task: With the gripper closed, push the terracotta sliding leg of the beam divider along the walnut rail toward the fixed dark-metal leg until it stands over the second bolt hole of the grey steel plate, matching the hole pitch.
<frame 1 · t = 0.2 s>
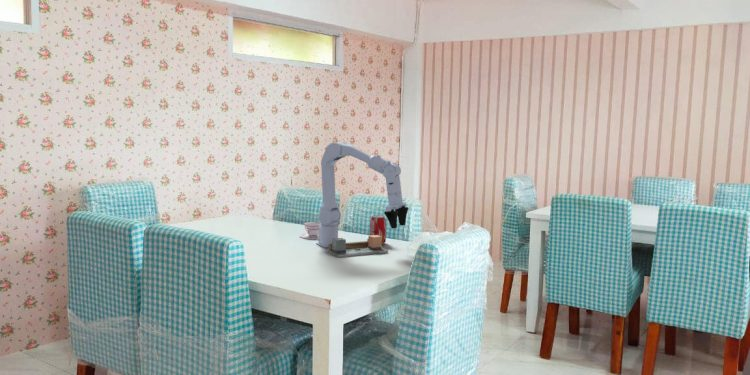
hand: (398, 226, 258), 10 cm above the table, tool pointing down, fingers open, 7 cm apart
rail: (352, 249, 262), resting on plate
soda can: (377, 243, 277), on the table
fixed leg: (339, 253, 254), resting on plate
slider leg: (373, 241, 262), point 4 cm above the table, slide at 8.0 cm
plate: (357, 252, 258), on the table
teacup: (312, 237, 290), on the table
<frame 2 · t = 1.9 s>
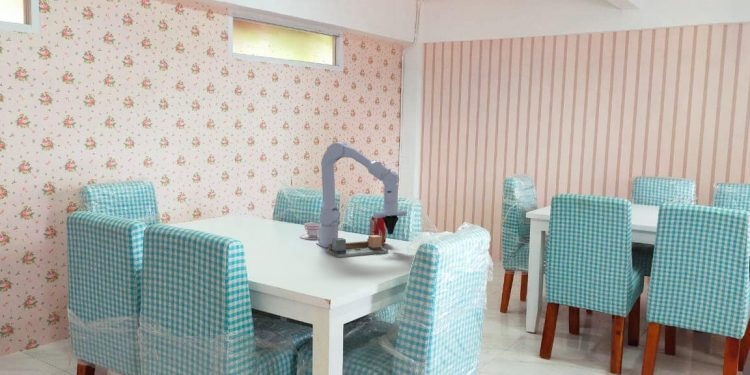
hand: (390, 233, 264), 6 cm above the table, tool pointing down, fingers closed
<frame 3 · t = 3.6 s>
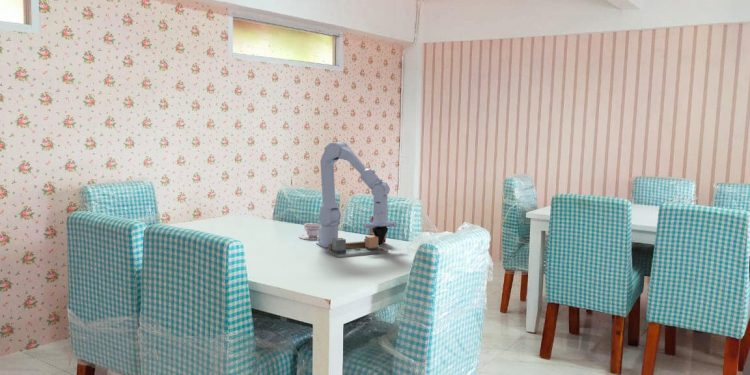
hand: (379, 244, 262), 2 cm above the table, tool pointing down, fingers closed
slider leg: (370, 241, 262), point 4 cm above the table, slide at 6.5 cm, touching gripper
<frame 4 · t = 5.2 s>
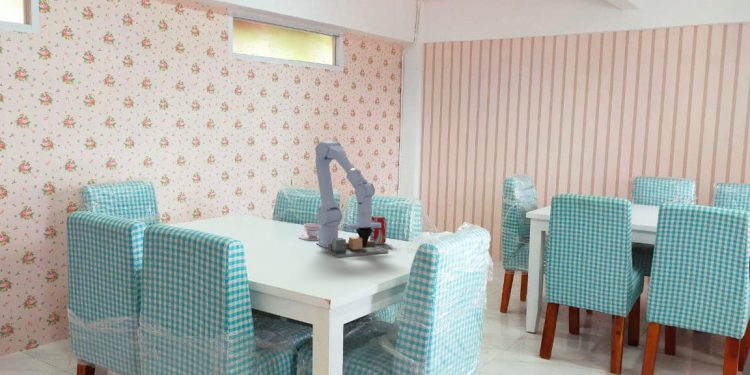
hand: (364, 246, 259), 2 cm above the table, tool pointing down, fingers closed
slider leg: (354, 243, 258), point 4 cm above the table, slide at -0.7 cm, touching gripper
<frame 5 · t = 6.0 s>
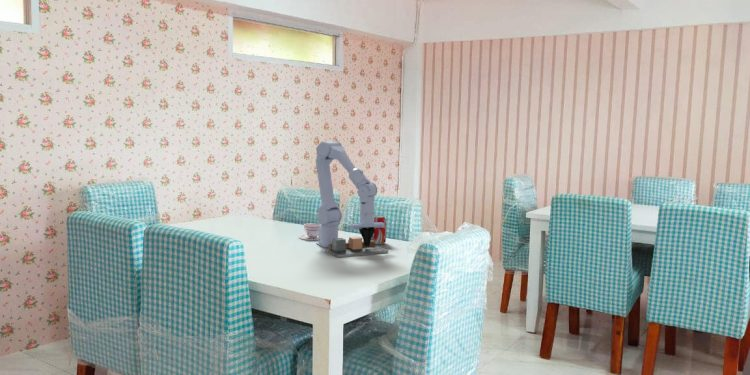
hand: (366, 245, 259), 2 cm above the table, tool pointing down, fingers closed
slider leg: (354, 243, 258), point 4 cm above the table, slide at -0.7 cm
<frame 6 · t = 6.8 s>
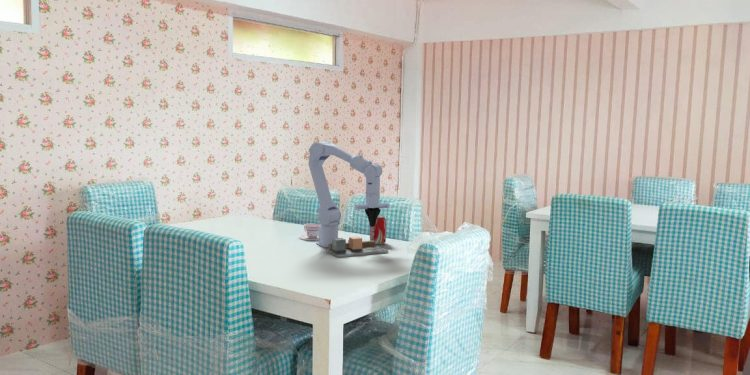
hand: (372, 226, 261), 10 cm above the table, tool pointing down, fingers closed
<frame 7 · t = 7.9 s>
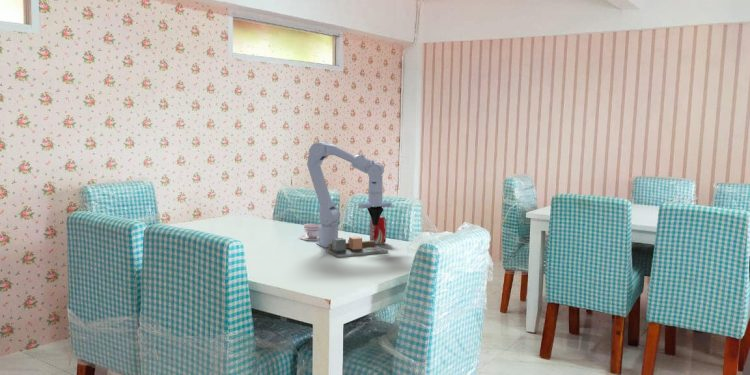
hand: (375, 224, 265), 10 cm above the table, tool pointing down, fingers closed
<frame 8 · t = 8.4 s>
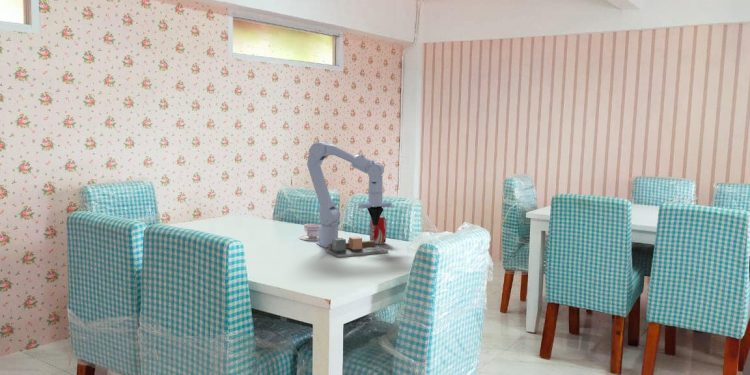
hand: (375, 224, 265), 10 cm above the table, tool pointing down, fingers closed
at the end: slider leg slide at -0.7 cm; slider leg 0.7 cm from the target spot, resting on plate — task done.
